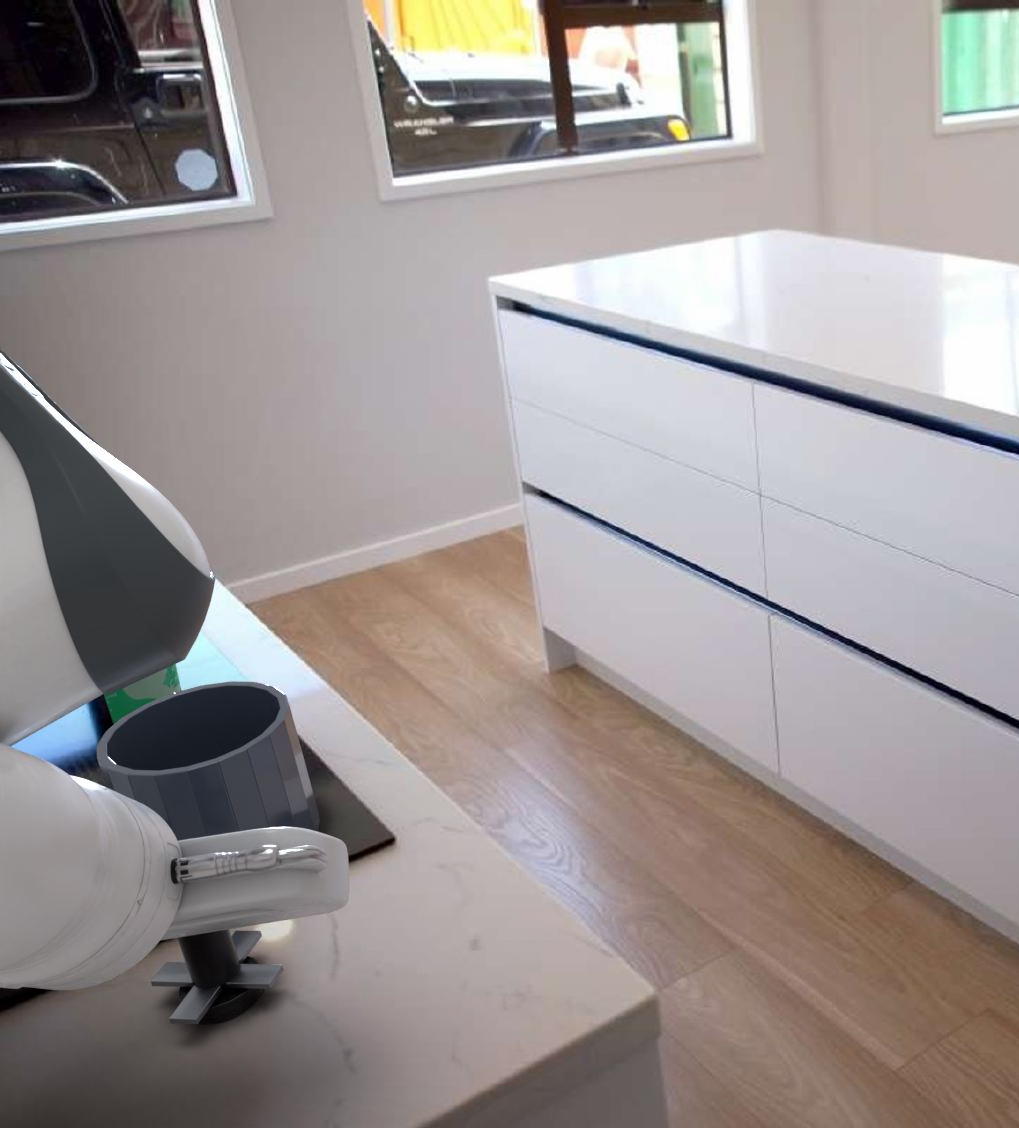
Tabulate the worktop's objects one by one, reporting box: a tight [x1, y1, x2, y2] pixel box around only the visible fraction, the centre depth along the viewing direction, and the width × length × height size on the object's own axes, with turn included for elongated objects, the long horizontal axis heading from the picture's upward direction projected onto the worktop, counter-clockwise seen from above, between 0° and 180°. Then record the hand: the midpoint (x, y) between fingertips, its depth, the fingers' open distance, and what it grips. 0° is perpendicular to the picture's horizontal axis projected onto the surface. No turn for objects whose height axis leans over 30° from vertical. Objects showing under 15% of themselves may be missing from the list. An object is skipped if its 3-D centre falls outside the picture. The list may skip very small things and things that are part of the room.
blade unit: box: [150, 929, 285, 1025], centre depth 73 cm, size 7×7×10 cm
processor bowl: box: [96, 680, 321, 841], centre depth 87 cm, size 12×12×10 cm
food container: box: [103, 663, 182, 725], centre depth 101 cm, size 12×6×10 cm, turn 34°
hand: (185, 917), depth 71 cm, fingers open, 8 cm apart
